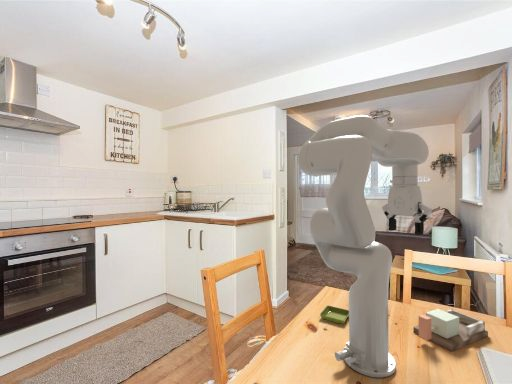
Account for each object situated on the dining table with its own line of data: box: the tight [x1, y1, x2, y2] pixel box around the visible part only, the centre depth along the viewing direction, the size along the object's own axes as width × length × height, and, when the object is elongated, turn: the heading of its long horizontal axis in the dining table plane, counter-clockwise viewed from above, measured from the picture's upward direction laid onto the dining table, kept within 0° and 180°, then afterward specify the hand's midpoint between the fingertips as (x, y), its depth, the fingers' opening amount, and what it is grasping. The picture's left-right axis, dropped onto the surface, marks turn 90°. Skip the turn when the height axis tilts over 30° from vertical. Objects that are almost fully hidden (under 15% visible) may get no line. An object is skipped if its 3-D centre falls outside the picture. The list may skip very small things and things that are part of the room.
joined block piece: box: [418, 308, 459, 341], centre depth 77 cm, size 12×6×6 cm, turn 113°
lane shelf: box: [413, 308, 489, 352], centre depth 80 cm, size 18×11×4 cm, turn 113°
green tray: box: [319, 305, 349, 325], centre depth 91 cm, size 9×9×2 cm
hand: (405, 232), depth 88 cm, fingers open, 9 cm apart
